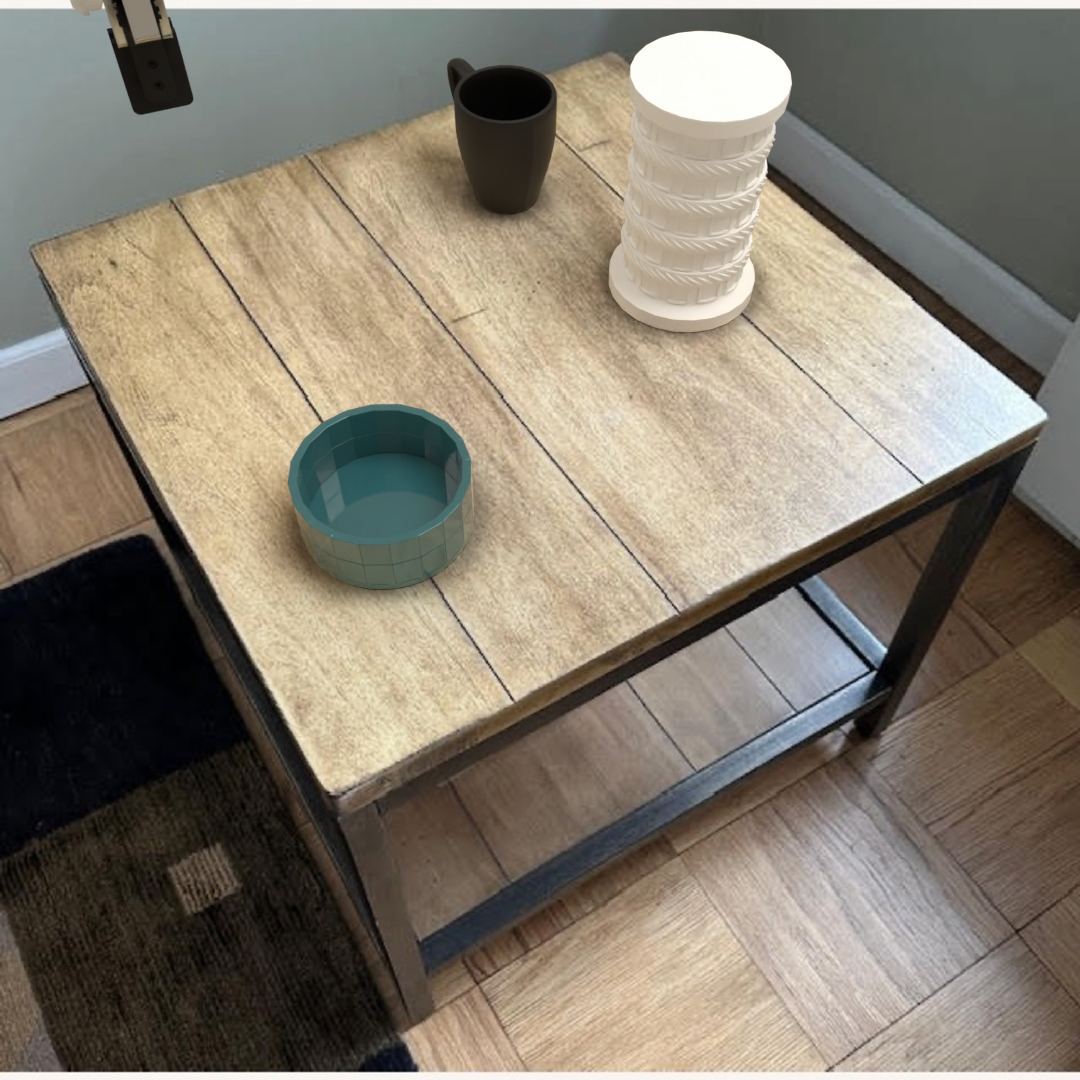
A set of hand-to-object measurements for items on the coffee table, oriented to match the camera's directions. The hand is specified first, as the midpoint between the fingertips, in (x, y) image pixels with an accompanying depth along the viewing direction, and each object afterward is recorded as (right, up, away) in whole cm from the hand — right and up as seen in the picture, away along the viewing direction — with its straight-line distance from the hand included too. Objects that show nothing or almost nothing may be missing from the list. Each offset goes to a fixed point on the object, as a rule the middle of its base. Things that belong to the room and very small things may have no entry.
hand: (162, 101), depth 59 cm
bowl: (+10, -22, +15) cm, 29 cm away
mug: (+16, +7, +37) cm, 41 cm away
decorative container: (+32, -3, +29) cm, 43 cm away
